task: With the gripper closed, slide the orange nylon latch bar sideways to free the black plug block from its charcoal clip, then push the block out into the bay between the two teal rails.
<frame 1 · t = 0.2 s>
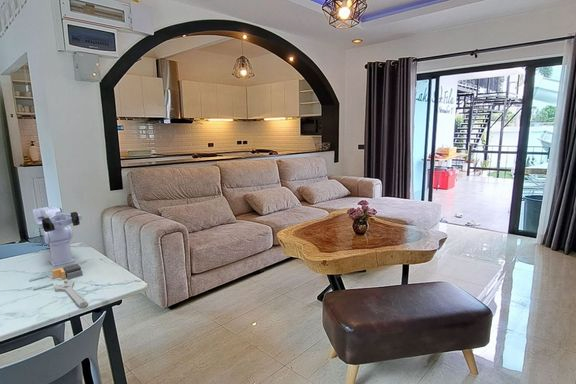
hand: (64, 224, 130), 21 cm above the table, tool horizontal, fingers open, 7 cm apart
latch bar: (58, 274, 131), point 2 cm above the table, slide at 0.0 cm
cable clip: (73, 274, 134), on the table
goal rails: (41, 283, 127), on the table
adjustable wrench: (70, 297, 118), on the table
plug block: (73, 275, 134), on the table
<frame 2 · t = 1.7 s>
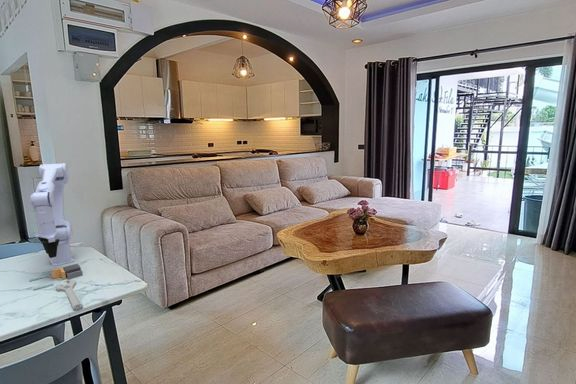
hand: (51, 255, 133), 8 cm above the table, tool pointing down, fingers open, 6 cm apart
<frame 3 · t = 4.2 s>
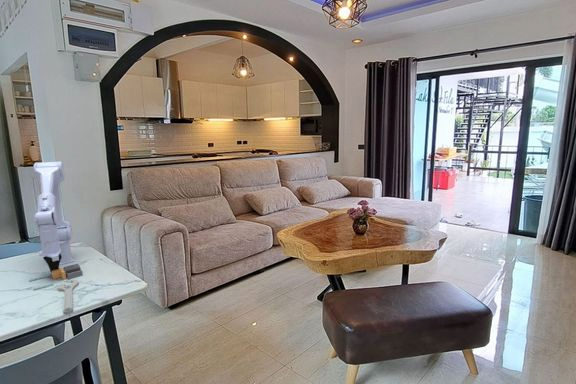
hand: (55, 273, 133), 1 cm above the table, tool pointing down, fingers closed
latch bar: (58, 274, 131), point 2 cm above the table, slide at 0.3 cm, touching gripper
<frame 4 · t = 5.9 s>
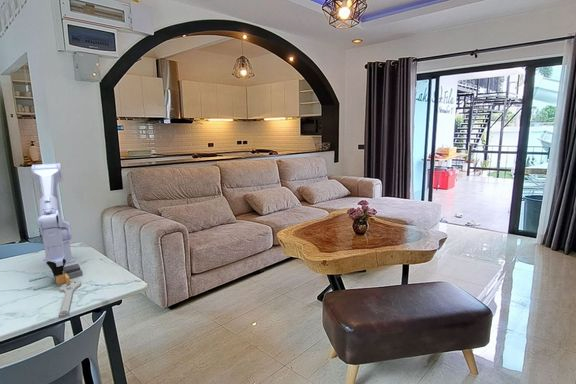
hand: (58, 278, 128), 1 cm above the table, tool pointing down, fingers closed
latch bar: (62, 280, 126), point 2 cm above the table, slide at 7.1 cm, touching gripper
adjustable wrench: (66, 300, 115), on the table
everything else where it was.
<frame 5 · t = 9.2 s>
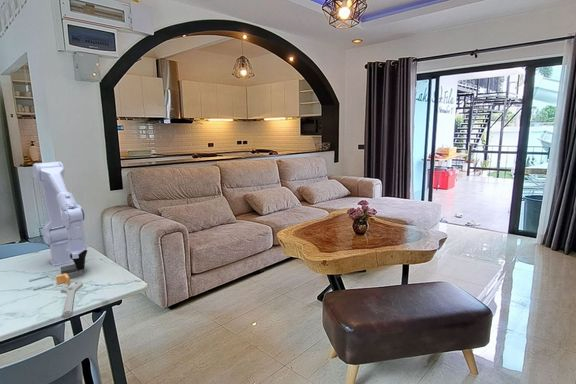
hand: (81, 269, 136), 1 cm above the table, tool pointing down, fingers closed
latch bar: (62, 280, 126), point 2 cm above the table, slide at 7.2 cm
plug block: (69, 275, 134), on the table, touching gripper
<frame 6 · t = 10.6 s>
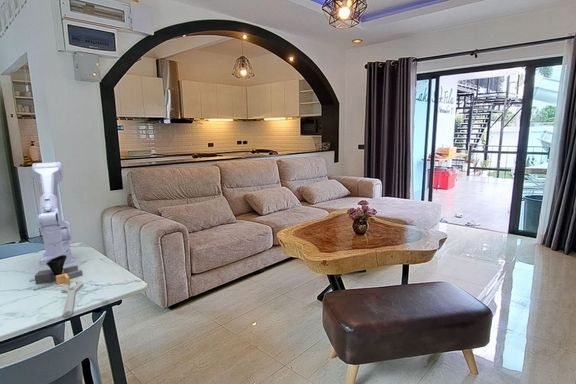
hand: (58, 275, 131), 2 cm above the table, tool pointing down, fingers closed
plug block: (46, 280, 129), on the table, touching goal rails, gripper
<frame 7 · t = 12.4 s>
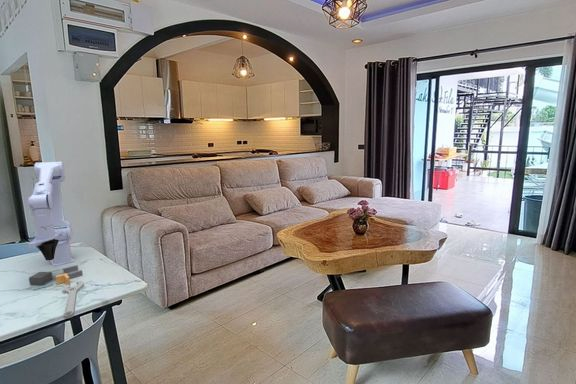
hand: (50, 259, 128), 8 cm above the table, tool pointing down, fingers closed
plug block: (41, 283, 128), on the table
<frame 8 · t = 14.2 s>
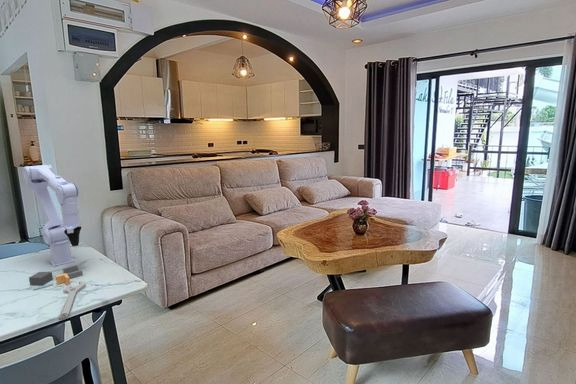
hand: (75, 245, 138), 10 cm above the table, tool pointing down, fingers closed
at the end: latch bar slide at 7.2 cm; plug block 1.4 cm from the target spot, on the table; plug block tilted 0° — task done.
